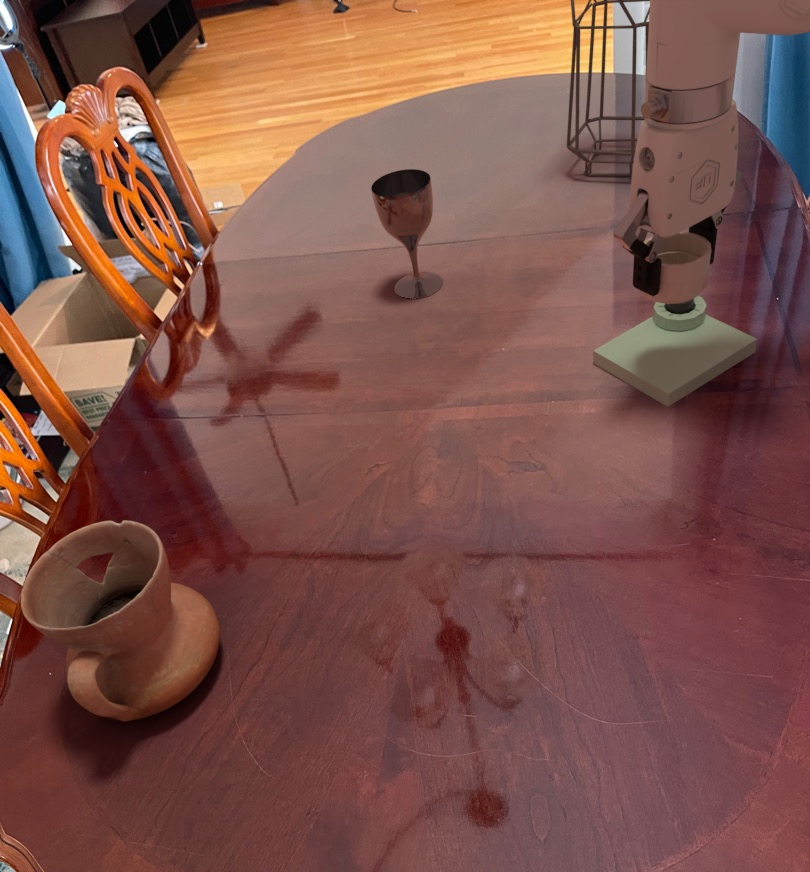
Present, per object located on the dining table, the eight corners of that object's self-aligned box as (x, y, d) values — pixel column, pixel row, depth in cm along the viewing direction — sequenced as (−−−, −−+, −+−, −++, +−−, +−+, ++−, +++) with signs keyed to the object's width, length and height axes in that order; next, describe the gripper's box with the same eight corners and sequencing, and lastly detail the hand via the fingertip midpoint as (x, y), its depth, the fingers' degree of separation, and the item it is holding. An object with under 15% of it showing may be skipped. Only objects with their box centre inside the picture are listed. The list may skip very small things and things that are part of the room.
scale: (676, 311, 103) (679, 286, 100) (758, 350, 95) (762, 325, 92) (590, 362, 99) (590, 337, 96) (667, 407, 91) (669, 382, 88)
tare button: (679, 298, 99) (680, 287, 98) (698, 307, 97) (699, 296, 96) (661, 309, 98) (662, 297, 97) (680, 318, 97) (681, 306, 95)
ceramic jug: (115, 599, 85) (50, 503, 75) (246, 594, 83) (197, 494, 72) (50, 756, 73) (-38, 669, 63) (201, 757, 71) (134, 665, 60)
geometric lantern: (584, 143, 140) (582, -110, 115) (677, 145, 134) (697, -123, 109) (554, 185, 132) (544, -79, 106) (652, 189, 125) (667, -91, 100)
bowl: (670, 263, 90) (674, 224, 87) (720, 285, 86) (726, 245, 83) (623, 289, 88) (625, 250, 85) (672, 313, 84) (675, 273, 81)
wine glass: (421, 265, 121) (404, 164, 111) (457, 281, 117) (443, 177, 106) (380, 289, 119) (359, 188, 108) (415, 306, 114) (396, 202, 103)
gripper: (647, 141, 68) (637, 323, 81) (790, 71, 73) (759, 254, 86) (586, 121, 73) (586, 296, 86) (723, 57, 78) (704, 232, 91)
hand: (673, 274), depth 86 cm, fingers closed on bowl, 7 cm apart
